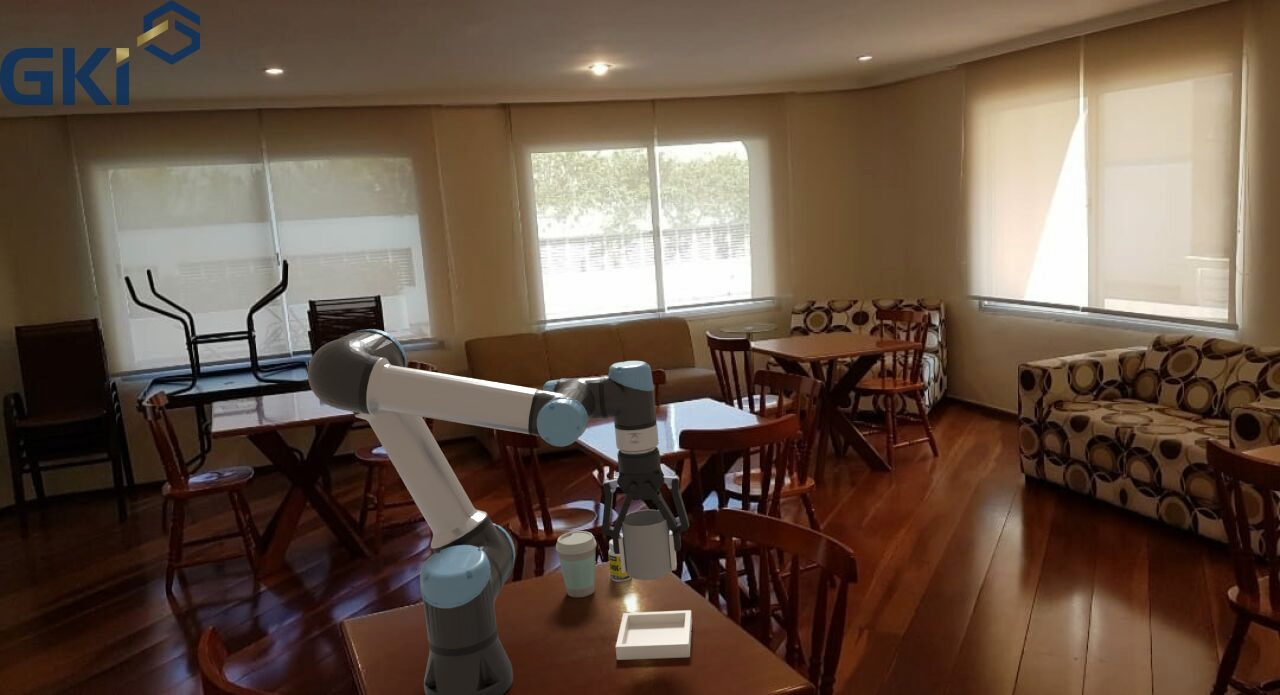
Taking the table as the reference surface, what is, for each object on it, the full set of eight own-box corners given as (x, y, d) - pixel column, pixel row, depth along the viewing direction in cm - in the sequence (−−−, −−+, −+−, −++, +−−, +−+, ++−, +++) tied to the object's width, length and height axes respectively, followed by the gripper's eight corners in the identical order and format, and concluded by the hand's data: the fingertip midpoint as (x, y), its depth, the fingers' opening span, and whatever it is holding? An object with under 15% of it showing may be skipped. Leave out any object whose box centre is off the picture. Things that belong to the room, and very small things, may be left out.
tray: (616, 659, 161) (615, 646, 161) (624, 625, 174) (623, 613, 173) (689, 657, 160) (688, 643, 159) (692, 622, 172) (691, 610, 172)
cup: (668, 580, 160) (663, 526, 158) (622, 580, 161) (617, 527, 160) (675, 560, 168) (670, 509, 166) (632, 560, 169) (627, 510, 168)
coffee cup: (585, 579, 197) (579, 526, 195) (609, 590, 190) (603, 536, 188) (552, 592, 191) (546, 539, 189) (576, 604, 185) (570, 548, 183)
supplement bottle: (607, 581, 194) (604, 544, 193) (614, 572, 199) (611, 536, 197) (628, 582, 193) (625, 545, 191) (635, 573, 197) (632, 537, 196)
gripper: (575, 458, 158) (588, 580, 162) (696, 450, 156) (707, 574, 160) (582, 446, 165) (594, 562, 169) (698, 438, 163) (707, 557, 167)
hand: (649, 568), depth 164 cm, fingers closed on cup, 8 cm apart
